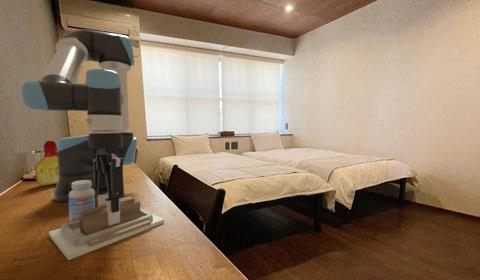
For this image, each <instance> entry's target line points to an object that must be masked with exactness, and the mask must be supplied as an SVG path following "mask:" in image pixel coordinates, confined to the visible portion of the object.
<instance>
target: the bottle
mask: <svg viewBox="0 0 480 280" xmlns="http://www.w3.org/2000/svg"><path fill="white" fill-rule="evenodd" d="M43 150H44V153H43V158H41V159H40V160H39V161H38V162H37V164H36V165H35V168H34V172H35V173H34V174H35V178H36V179H35V180H36V182H37V185H39V186H40V187H41V186H49V185H55V184H56V185H57V183H58V180H59V170H58V155H57V142H56V141H53V140H47V141H45V143H44V144H43Z"/></svg>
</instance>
